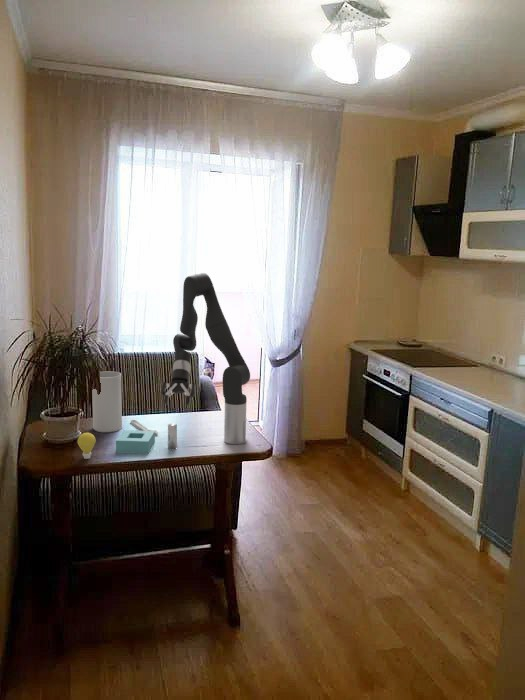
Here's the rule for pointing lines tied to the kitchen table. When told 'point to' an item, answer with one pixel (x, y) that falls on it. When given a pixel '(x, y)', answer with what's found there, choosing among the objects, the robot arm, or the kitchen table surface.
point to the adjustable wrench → (142, 427)
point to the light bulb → (86, 444)
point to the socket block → (135, 441)
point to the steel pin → (172, 436)
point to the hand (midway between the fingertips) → (176, 404)
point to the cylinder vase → (108, 403)
